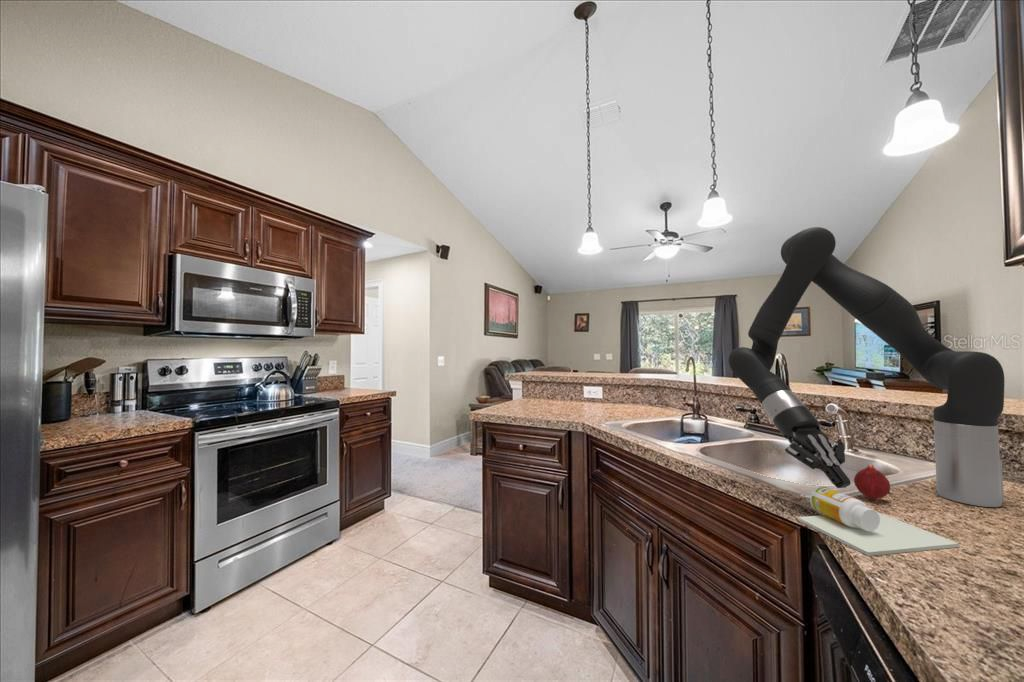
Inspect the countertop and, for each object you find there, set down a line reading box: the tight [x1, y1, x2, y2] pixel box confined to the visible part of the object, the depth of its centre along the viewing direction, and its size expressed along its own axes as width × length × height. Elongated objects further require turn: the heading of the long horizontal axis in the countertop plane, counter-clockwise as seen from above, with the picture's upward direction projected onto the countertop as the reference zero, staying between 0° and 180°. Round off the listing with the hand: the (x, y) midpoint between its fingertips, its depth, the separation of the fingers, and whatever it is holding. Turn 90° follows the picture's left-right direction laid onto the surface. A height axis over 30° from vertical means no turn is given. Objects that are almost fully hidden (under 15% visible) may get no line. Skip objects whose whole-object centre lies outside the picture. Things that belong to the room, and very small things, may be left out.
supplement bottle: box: [809, 486, 880, 531], centre depth 71 cm, size 5×5×10 cm
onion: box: [853, 463, 891, 501], centre depth 83 cm, size 6×6×8 cm
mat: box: [797, 511, 960, 557], centre depth 69 cm, size 18×13×1 cm
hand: (844, 486), depth 73 cm, fingers closed
